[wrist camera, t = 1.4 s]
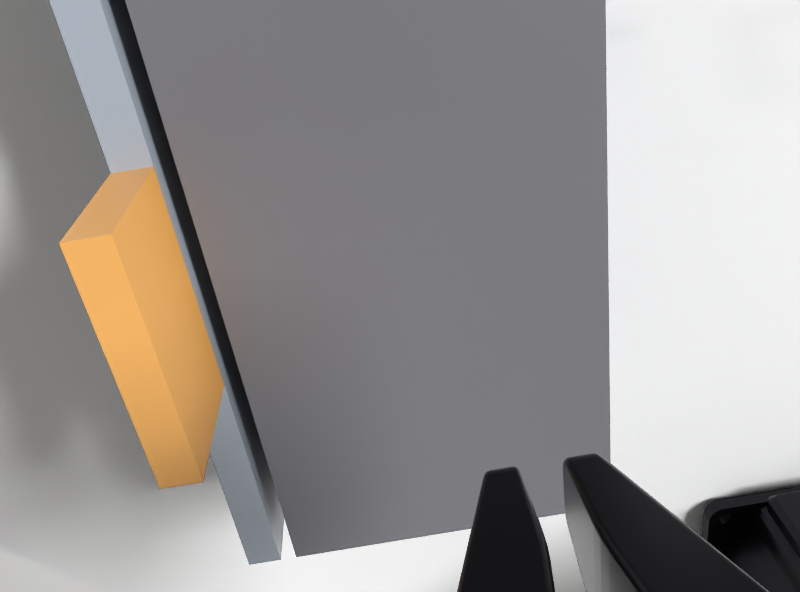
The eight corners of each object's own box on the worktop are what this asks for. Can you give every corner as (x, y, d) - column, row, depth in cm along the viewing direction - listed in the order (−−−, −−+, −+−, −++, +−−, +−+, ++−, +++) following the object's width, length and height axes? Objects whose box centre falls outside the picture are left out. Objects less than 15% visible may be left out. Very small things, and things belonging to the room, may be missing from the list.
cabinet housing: (559, 387, 23) (610, 505, 19) (303, 429, 23) (296, 556, 19) (523, -312, 15) (601, -388, 11) (122, -244, 15) (35, -291, 11)
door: (293, 437, 23) (277, 668, 16) (261, 442, 23) (231, 674, 16) (123, -171, 15) (-41, -203, 9) (75, -163, 15) (-129, -189, 9)
